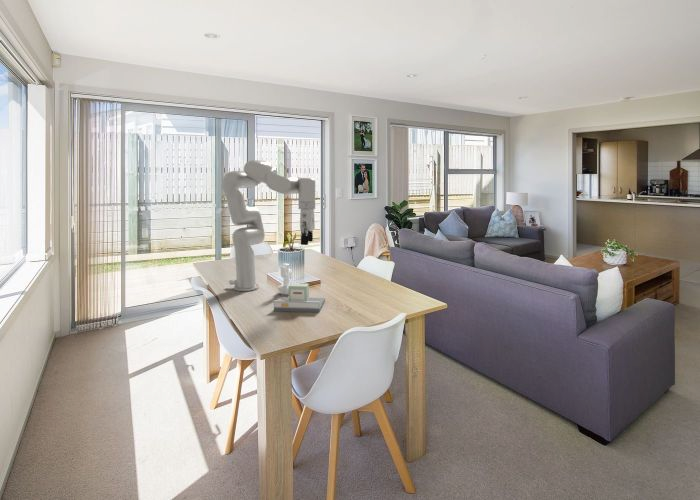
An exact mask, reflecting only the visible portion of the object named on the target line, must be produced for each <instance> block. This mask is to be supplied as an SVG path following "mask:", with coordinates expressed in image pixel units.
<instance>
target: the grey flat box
mask: <svg viewBox="0 0 700 500" xmlns="http://www.w3.org/2000/svg"><path fill="white" fill-rule="evenodd" d="M325 302H326V298H325V297H309V301H289V296H282V297H281V298H280V300H276V299H275V300H273V311H274V312H292V313H293V312H296V313H297V312H299V313H300V312H301V313H321V310H322V308H323V306H324V304H325Z"/></svg>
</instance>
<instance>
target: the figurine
mask: <svg viewBox="0 0 700 500" xmlns="http://www.w3.org/2000/svg"><path fill="white" fill-rule="evenodd" d="M280 277H281V278H283V283H281V284H280V285H278V286H277V290H278V291H279V293H280V295H288V296H289V291H288V286H289V285H290V284H291V283H290V280H291V279H292V278H293V277H292V270H291V268H290V263H282V266H281V267H280Z"/></svg>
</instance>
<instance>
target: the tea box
mask: <svg viewBox="0 0 700 500" xmlns="http://www.w3.org/2000/svg"><path fill="white" fill-rule="evenodd" d="M289 284H290V285H289V286H288V291H289V295H288V297H289V301H309V298H310V285H309V283H303V282H301V283H299V282H297V283H296V282H292V283H289Z"/></svg>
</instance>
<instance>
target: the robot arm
mask: <svg viewBox="0 0 700 500" xmlns="http://www.w3.org/2000/svg"><path fill="white" fill-rule="evenodd" d="M261 183H263V184H266V187H268V188H269V189H270V190H272V191H274V192H276V193H279V194H283V195H291V194H293V195H294V194H295V195H296V194H298V210H300V214H299V215H300V216H299V228H300V245H301V246H308V245H309V242H313V241H314V239H313V238H314V236H313V235H314V233H313V231H314V230H315V228H316V227H315V210H316V180H315V178H313V177H299V176H282V175H280V174H278V170H277V169H276V168H275V167H273V166H272V165H271V163H270V162H269V161H266V160H255V159H253V160H249V161H246V162H245V164H244V166H243V170H233V171H229V172H227V173H225V174H224V176H223V178H222V183H221V185H222V187H221V188H222V190H223V194H224V196H225V197H226V198H225V199H226V202H227V207H228V210H229V215H230V218H231V223H232V224H233V225H235V226H247V227H240V228H237V229H236V230H234V232H233V233H232V236H231V237H232V244H233V246H234V254H235V255H234V258H235V272H236V273H235V274H236V276H235V277H236V279H235V280H233V279H230V280H229V281H228V284H229V285H234V286H233V290H235V291H238V292H250V291H255V290H258V289H259V287H260V285H259V284H258V283H256V282H257V281H256V261H255V260H256V257H255V252H254V250H253V248H252V246H255V245H259V244H262V243H263V241H264V240H265V236H266V235H265V229H264V225H263V221H262V215H261V213H260V211H259V209H258V208H257V207H256V206H253V205H247V204H246V200H245V197H244V195H243V194H242V192H241V191H240V189H252V188H255V187H257V186H258V185H260V184H261Z"/></svg>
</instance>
